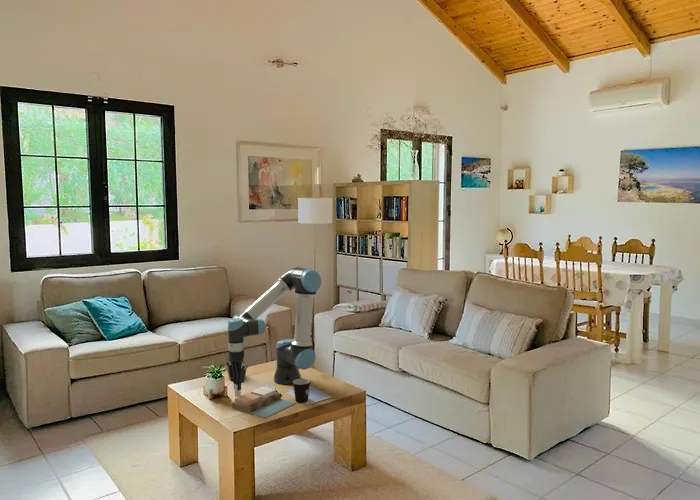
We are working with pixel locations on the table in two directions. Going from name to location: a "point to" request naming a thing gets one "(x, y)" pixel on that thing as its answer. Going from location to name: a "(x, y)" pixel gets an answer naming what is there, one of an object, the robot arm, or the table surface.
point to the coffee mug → (301, 390)
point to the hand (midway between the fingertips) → (237, 395)
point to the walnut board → (256, 404)
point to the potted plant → (228, 360)
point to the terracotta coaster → (247, 399)
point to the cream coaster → (264, 392)
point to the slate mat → (273, 408)
